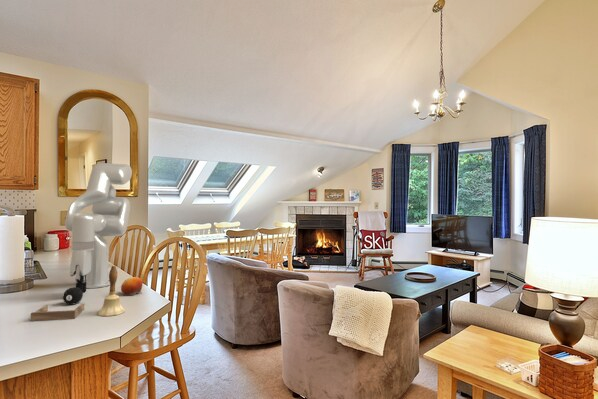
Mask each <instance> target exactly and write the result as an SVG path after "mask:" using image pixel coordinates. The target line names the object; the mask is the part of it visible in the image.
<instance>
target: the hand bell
mask: <svg viewBox="0 0 598 399" xmlns="http://www.w3.org/2000/svg"><path fill="white" fill-rule="evenodd" d="M117 279H118V269H117V266H116V265H111V267H110V270H109V272H108V280H109V281H110V285H109V294H108V295H106V296H105V297H104V300H103V305H102V306H101V309H100V310H99V311H98V312H97V316H100V317H112V316H113V317H114V316H118V315H121V314H124V313H125V312H126V309H125V308H124V307H123V306H122V304H121V302H120V301H121V300H120V296H119V295H118V294H116V284H117Z"/></svg>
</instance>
